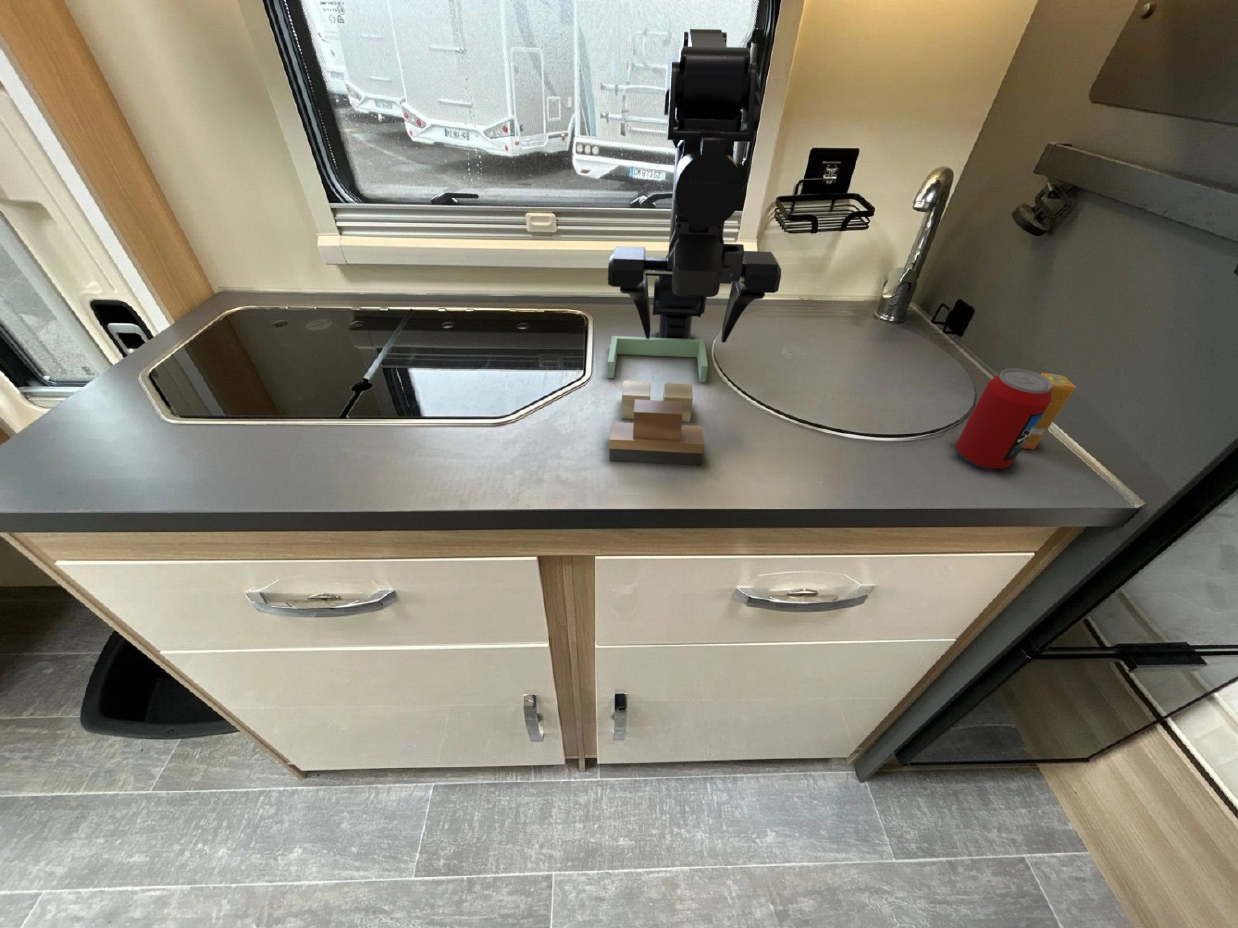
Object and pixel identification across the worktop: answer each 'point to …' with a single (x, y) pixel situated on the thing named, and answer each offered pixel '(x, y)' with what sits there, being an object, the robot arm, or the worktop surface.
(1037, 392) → the beverage can
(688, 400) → the block
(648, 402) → the brush
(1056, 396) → the supplement box
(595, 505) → the worktop surface
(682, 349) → the corral
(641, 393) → the block
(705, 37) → the robot arm
